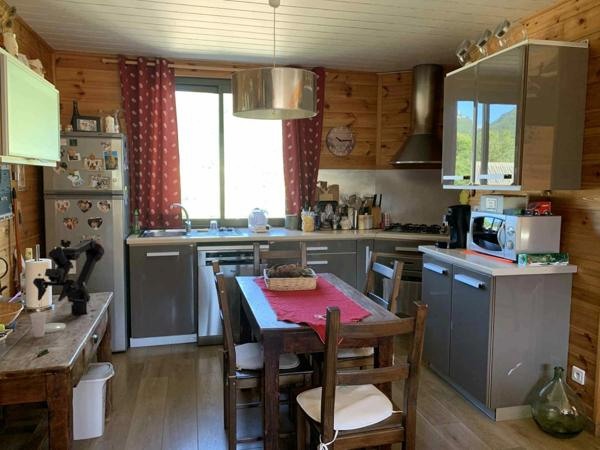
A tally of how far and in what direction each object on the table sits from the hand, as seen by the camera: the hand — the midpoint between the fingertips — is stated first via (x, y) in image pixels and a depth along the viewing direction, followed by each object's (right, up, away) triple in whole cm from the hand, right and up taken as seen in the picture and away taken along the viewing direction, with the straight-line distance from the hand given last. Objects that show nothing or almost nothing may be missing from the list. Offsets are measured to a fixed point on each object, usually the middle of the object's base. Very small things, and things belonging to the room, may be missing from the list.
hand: (48, 300), depth 207 cm
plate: (0, -13, +3) cm, 14 cm away
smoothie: (-1, -14, -6) cm, 16 cm away
